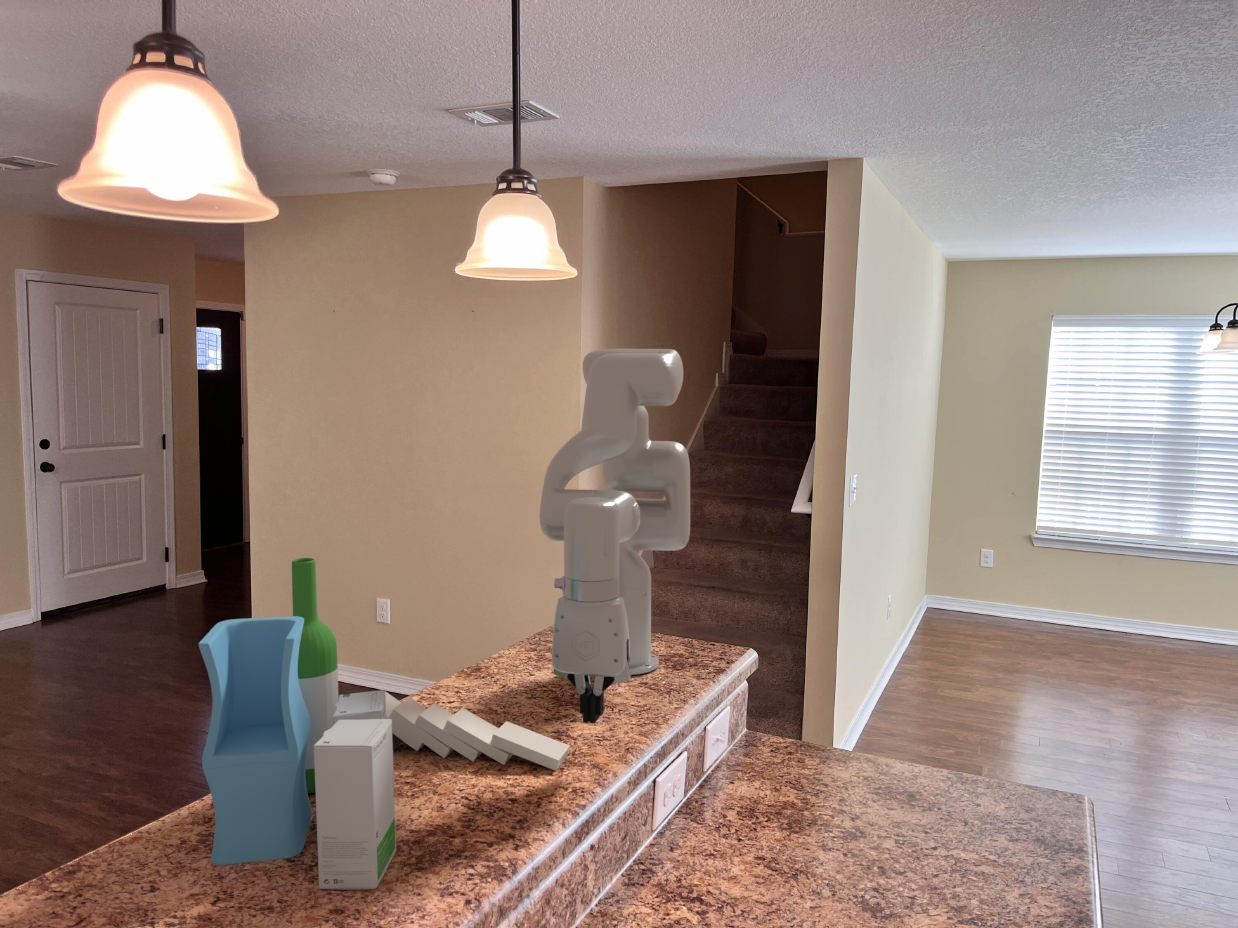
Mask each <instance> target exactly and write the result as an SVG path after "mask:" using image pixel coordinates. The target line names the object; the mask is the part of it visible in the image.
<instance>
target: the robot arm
mask: <svg viewBox="0 0 1238 928" xmlns="http://www.w3.org/2000/svg"><path fill="white" fill-rule="evenodd" d="M683 365H684V364H683V361H682V357H681V356H680V354H679V352H678V351H676V349H672V348H604V349H603V348H602V349H596V350H592V351H590V352H588V353H587V354H586V355H585V356H584V358H583V360H582V373H583V378H584V382H585V384H586V387H585V388H586V389H585V396H584V405H583V412H582V421H581V428H580V431H579V432H578V433H576V434H575V435H574V436H572V437H571V438H570V439H569V440H568V441H566V442H565V443H564V444H563V445H562V446H561V447H560V449H559V450H558V451H557V452H556V453H555V455H554V456H553V458H552V459H551V460H550V462H549V464H548V466H547V469H546V471H545V473H544V479H543V484H542V485H543V486H542V492H541V497H540V503H539V504H540V505H539V525H540V529H541V532H542V533H543V535H544V536H545V537H547V538H548V539H549V540H552V541H555V542H563V576H562V577H560V578H555V579H554V582H553V586H554V588H555V589H560V590H561V592H562V596H561V597H559V598H557V604H556V608H555V614H554V623H553V631H552V644H551V665H552V667H553V671H552V672H553V674H554V675H555V676H557V677H559V678H562V679H566V680H568V681H569V682H570V683H571V684H572V686H573V687H574V688H575V689H576V692H577V693H578V694H579V714H580V715H582V722H583V724H587V723H590V724H592V725H593V724H594V725H595V724H596V722H598V720H599V719H600V717H602V716H603V714H604V710H605V705H604V704H605V702H604V700H605V699H604V697H605V695H604V694H605V693H604V692H605V691H606V690H607V689H608V688H609V687H611V685H612V684H619V683H627V682H628V681H629V680H630V678H631V677H632V676H633V675H642V674H647V673H650V672H653V671H654V670H656V669H657V668H658V667H659V665H660V662H659V661H660V660H659V657H658V656H657V655H656V654H654V653H653V652H651V651H652V646H651V645H652V573H651V570H650V567H649V565H648V564H647V563H646V561H645V560H644V558H643V557H642V556H641V554H640V553H639V552H638V551H665V552H666V551H674V552H675V551H679V550H682V549H684V548H685V547H686V546H687V544H689V540H690V535H691V465H690V464H691V463H690V456H689V454H688V453H689V452H688V451H687V448H686V447H685V446H684V445H683V444H682V443H680V442H678V441H673V440H672V441H671V440H651V439H650V436H649V435H650V433H649V427H650V425H649V420H650V419H649V413H648V410H647V409H646V407H668V406H669V407H670V406H672V405H673V404H675V403H676V401H677V399H678V397H679V394H680V392H681V390H682V387H683V382H684V366H683ZM600 464H602V475H603V481H604V484H605V485H606V487H607V489H608V490H607V489H605V490H600V489H599V490H598V489H572V488H571V489H570V488H569V489H567V488H566V487H567V485H568V484H569V483H570V481H571V480H572V479H573V478H575V477H576V476H577V475H578V474H580V473H582V472H583V471H586V470H588V469H590V468H593V467H595V466H597V465H600ZM630 493H641V494H643V493H645V494H661V495H663V496H664V498H639V497H638V498H637V497H636V498H635V497H634V496H633V494H630ZM590 676H591V677H592V676H593V677H594V683H593V687H592V684H591V678H590Z"/></svg>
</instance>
